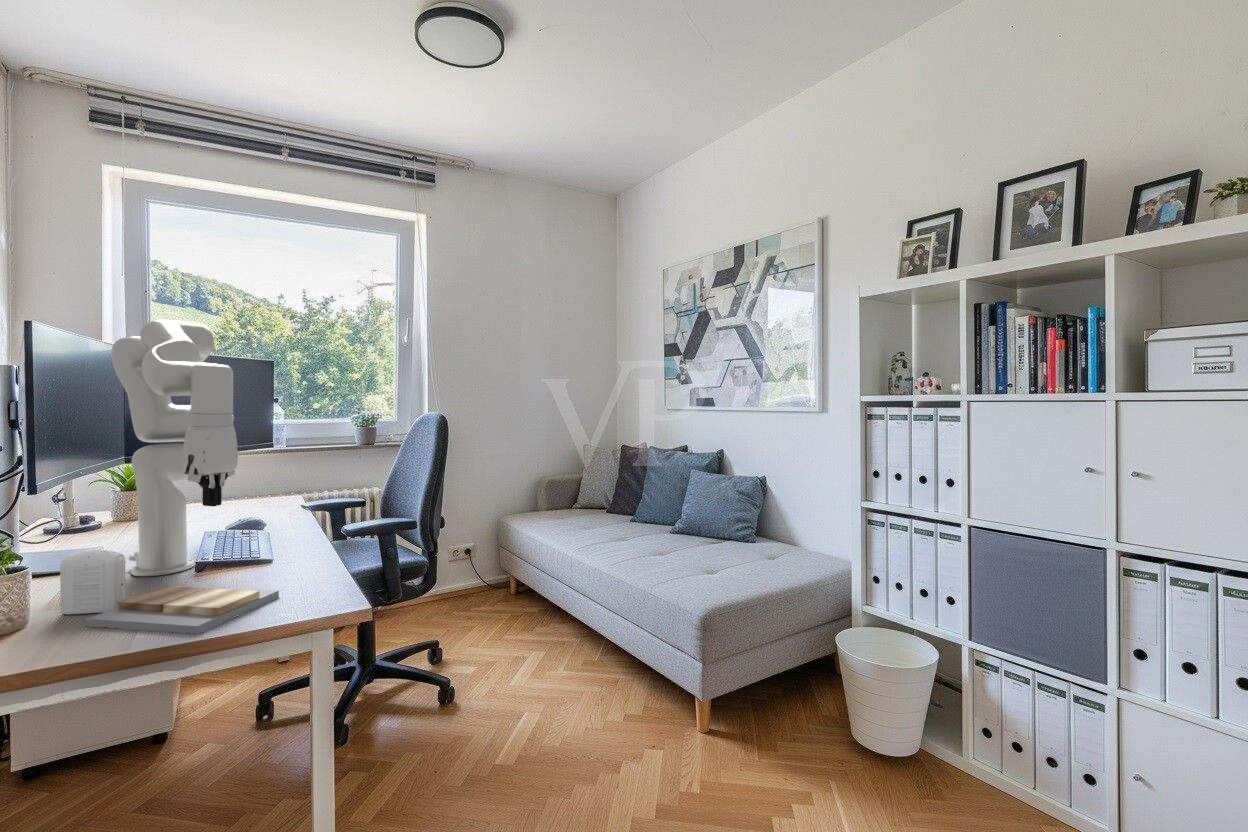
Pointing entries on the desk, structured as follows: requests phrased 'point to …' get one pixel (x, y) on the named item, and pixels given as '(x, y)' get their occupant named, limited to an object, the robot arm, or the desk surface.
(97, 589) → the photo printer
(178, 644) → the desk surface
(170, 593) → the flat wooden square
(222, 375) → the robot arm
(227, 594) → the oak plank
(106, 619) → the floor board
